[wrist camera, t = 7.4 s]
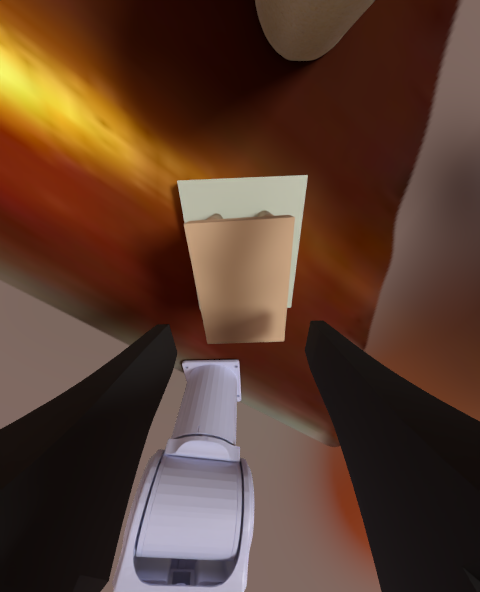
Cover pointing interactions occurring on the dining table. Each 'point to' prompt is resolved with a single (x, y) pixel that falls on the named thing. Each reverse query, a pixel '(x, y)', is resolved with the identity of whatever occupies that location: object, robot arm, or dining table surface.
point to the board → (247, 203)
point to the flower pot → (307, 24)
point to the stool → (242, 275)
